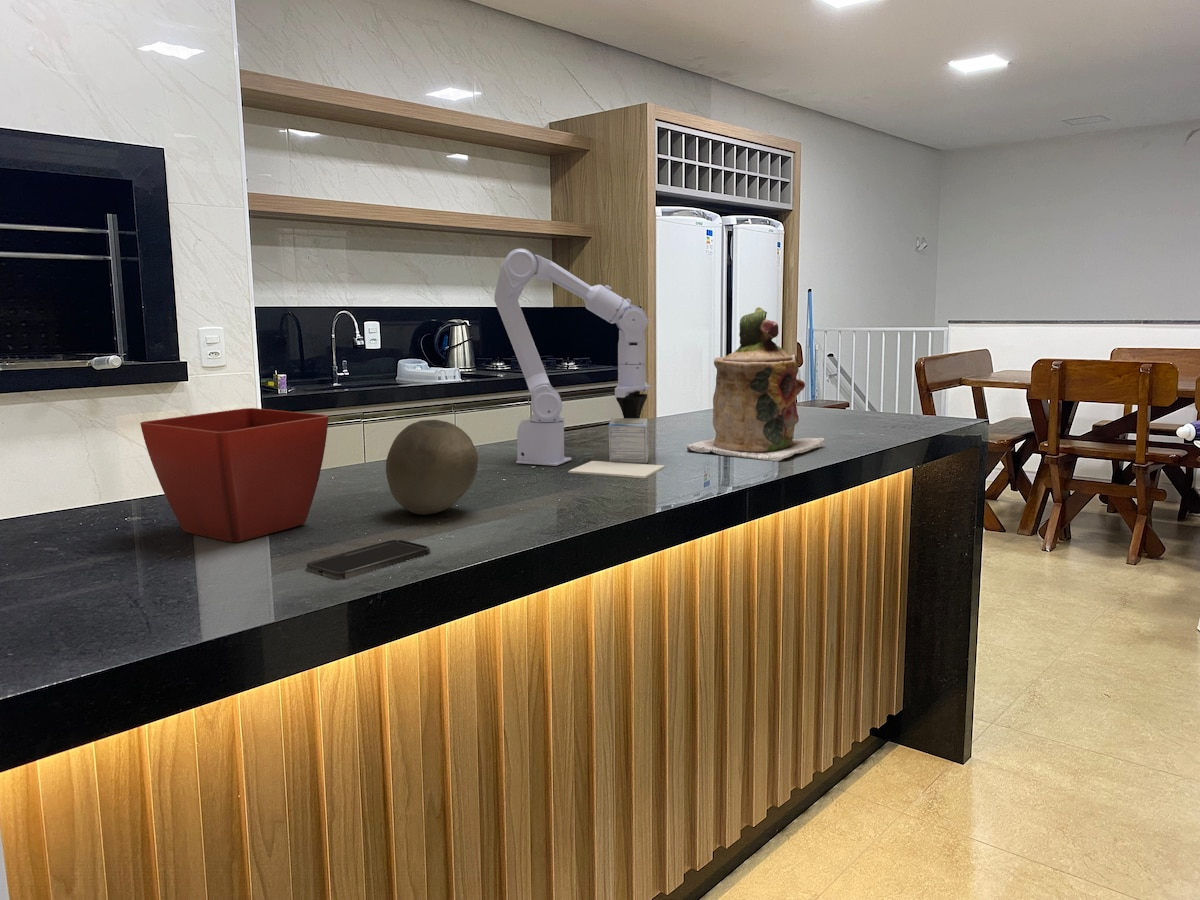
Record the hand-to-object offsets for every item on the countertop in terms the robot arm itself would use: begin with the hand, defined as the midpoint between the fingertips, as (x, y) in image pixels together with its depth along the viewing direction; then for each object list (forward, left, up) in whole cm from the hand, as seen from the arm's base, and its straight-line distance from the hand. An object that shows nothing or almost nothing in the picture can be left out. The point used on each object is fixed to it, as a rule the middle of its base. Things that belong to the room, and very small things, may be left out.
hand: (631, 428), depth 189 cm
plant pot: (-34, -75, -7) cm, 83 cm away
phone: (-6, -82, -8) cm, 83 cm away
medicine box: (0, -2, -7) cm, 7 cm away
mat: (+1, -11, -7) cm, 13 cm away
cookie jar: (+21, +24, -7) cm, 33 cm away
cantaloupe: (-13, -56, -7) cm, 58 cm away
